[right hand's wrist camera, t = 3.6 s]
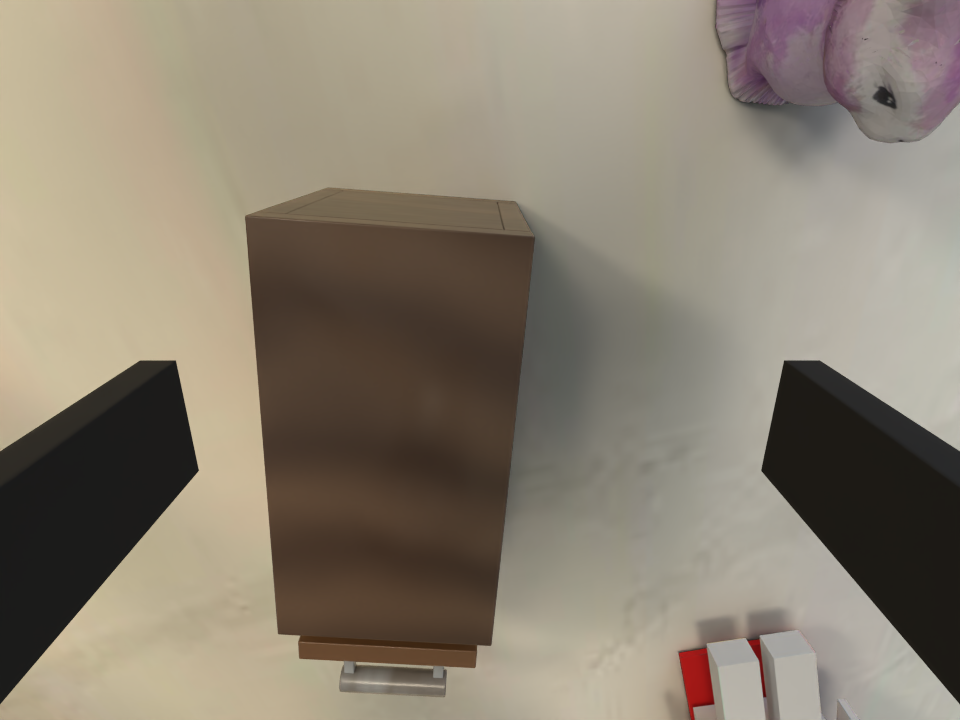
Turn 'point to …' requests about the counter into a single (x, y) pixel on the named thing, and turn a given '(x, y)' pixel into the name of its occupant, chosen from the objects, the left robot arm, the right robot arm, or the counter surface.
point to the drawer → (393, 653)
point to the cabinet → (388, 407)
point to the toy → (756, 680)
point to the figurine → (848, 59)
